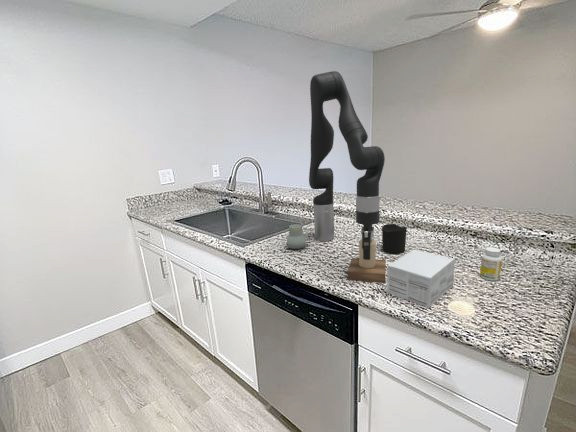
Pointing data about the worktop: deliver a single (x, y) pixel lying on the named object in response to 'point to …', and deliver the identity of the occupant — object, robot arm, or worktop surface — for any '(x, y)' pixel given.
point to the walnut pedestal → (367, 271)
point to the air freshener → (296, 237)
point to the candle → (372, 260)
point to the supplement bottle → (491, 264)
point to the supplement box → (420, 277)
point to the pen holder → (393, 238)
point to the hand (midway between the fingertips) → (367, 254)
